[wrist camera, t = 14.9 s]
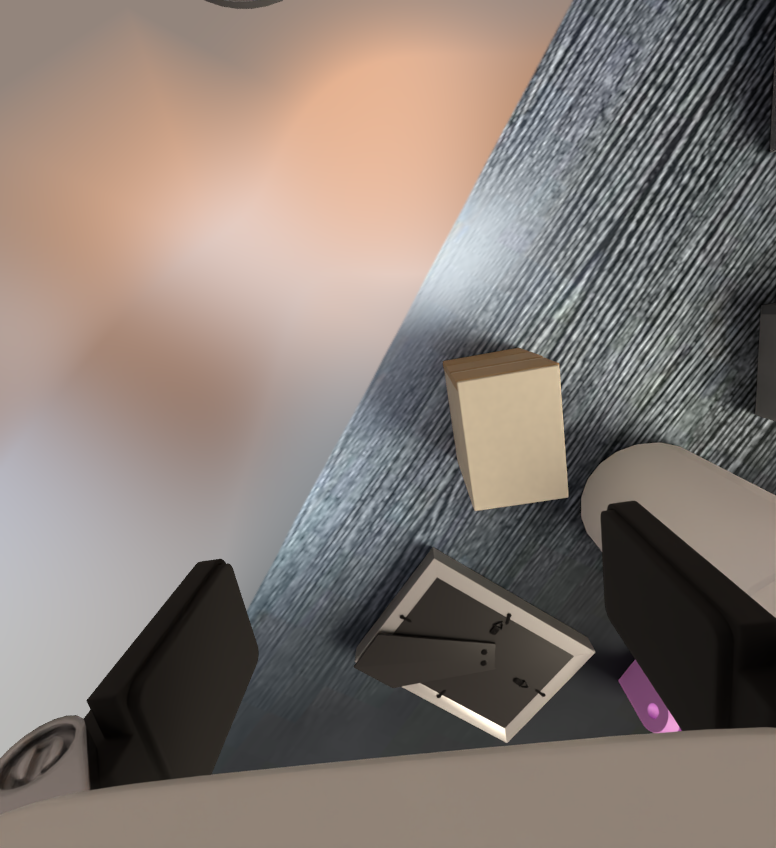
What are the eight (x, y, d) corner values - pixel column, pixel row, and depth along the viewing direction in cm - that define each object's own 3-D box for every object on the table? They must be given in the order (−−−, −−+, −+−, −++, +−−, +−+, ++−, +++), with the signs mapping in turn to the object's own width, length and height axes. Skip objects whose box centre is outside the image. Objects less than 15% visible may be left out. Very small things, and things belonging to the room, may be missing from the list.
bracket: (659, 697, 49) (700, 760, 42) (618, 680, 48) (652, 741, 41) (730, 614, 45) (787, 668, 39) (686, 594, 45) (736, 645, 38)
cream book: (450, 373, 32) (455, 381, 29) (543, 357, 32) (560, 363, 28) (467, 491, 35) (473, 511, 32) (553, 478, 34) (569, 497, 31)
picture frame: (356, 646, 48) (503, 725, 51) (353, 667, 46) (508, 749, 48) (432, 546, 44) (587, 637, 47) (434, 562, 42) (599, 657, 44)
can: (663, 569, 44) (863, 773, 25) (555, 529, 43) (675, 708, 24) (731, 465, 41) (1024, 609, 21) (615, 420, 40) (811, 528, 21)
